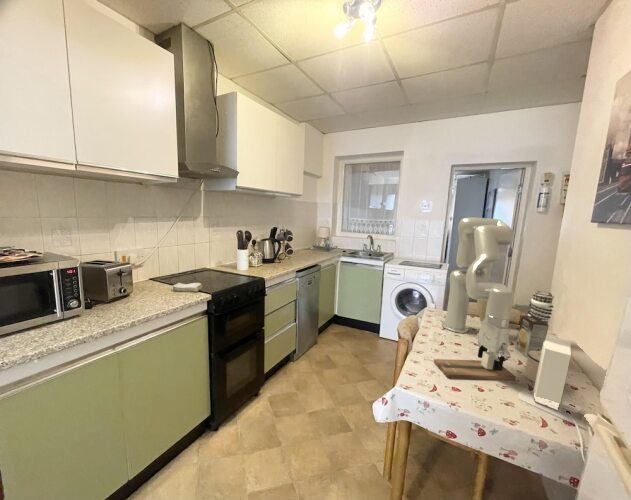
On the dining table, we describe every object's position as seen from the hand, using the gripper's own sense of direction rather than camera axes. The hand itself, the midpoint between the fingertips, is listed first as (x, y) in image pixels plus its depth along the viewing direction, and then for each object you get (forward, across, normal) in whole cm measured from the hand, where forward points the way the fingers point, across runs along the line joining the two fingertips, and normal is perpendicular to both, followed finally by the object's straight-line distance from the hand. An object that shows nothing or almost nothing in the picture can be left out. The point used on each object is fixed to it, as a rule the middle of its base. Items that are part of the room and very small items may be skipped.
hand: (489, 363), depth 101 cm
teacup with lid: (+4, +3, +18) cm, 19 cm away
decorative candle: (+4, -29, +46) cm, 54 cm away
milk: (+4, +16, +8) cm, 18 cm away
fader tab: (+2, 0, 0) cm, 2 cm away
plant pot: (+4, -49, +36) cm, 61 cm away
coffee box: (+4, -15, +30) cm, 34 cm away
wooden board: (+3, 0, -6) cm, 7 cm away
